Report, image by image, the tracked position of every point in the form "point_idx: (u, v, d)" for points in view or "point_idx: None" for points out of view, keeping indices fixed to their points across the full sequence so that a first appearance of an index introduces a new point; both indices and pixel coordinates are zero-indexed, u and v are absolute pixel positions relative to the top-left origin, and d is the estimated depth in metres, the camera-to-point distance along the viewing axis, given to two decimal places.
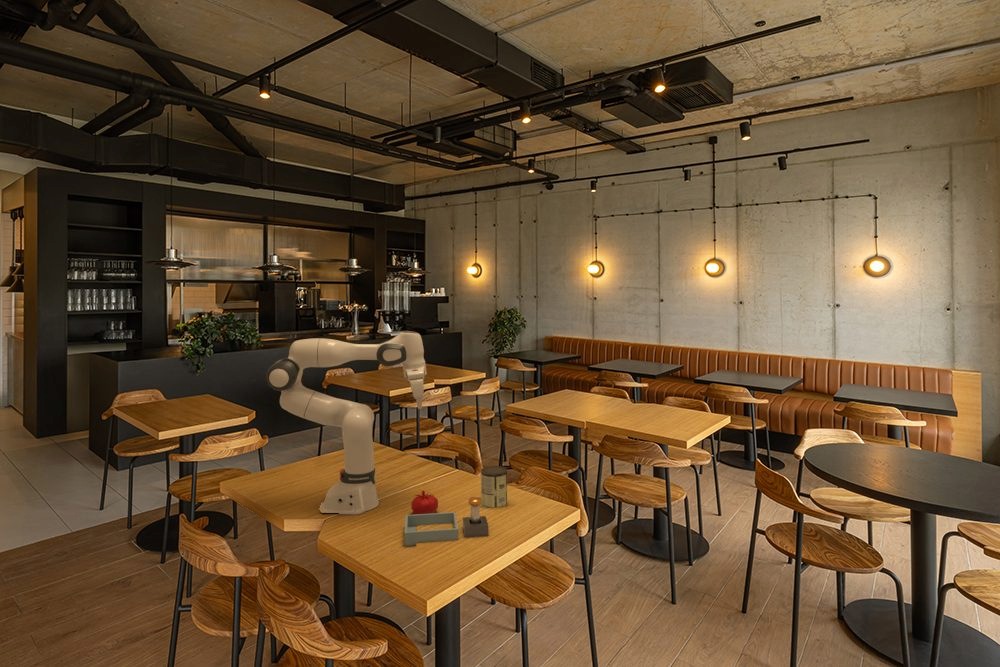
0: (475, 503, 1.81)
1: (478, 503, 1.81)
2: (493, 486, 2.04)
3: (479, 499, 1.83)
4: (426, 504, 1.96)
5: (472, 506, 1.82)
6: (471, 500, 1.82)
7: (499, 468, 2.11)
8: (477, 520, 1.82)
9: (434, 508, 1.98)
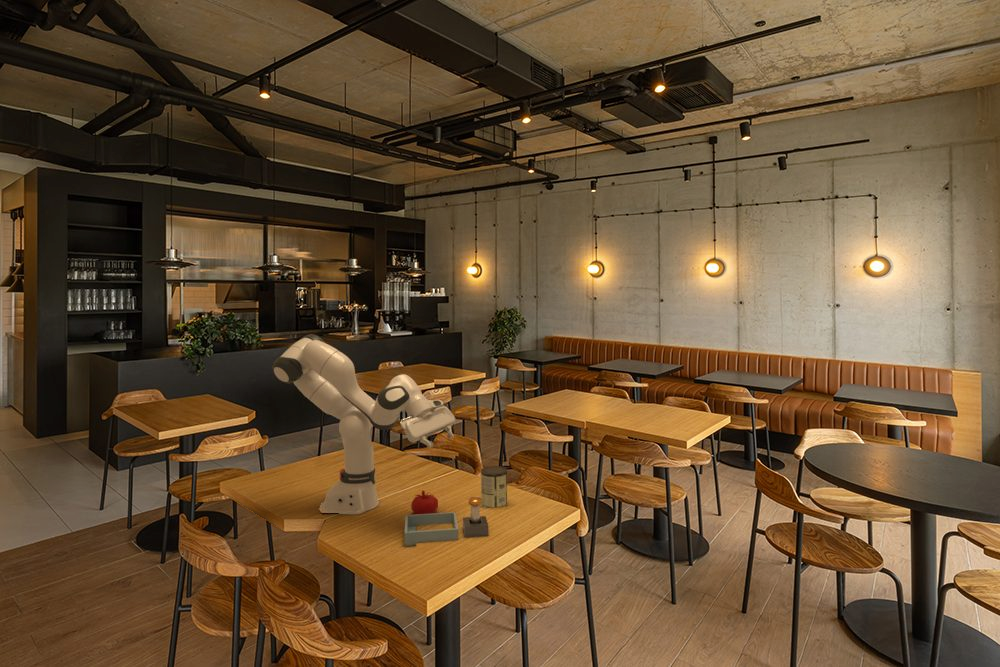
0: (475, 503, 1.81)
1: (478, 503, 1.81)
2: (493, 486, 2.04)
3: (479, 499, 1.83)
4: (426, 504, 1.96)
5: (472, 506, 1.82)
6: (471, 500, 1.82)
7: (499, 468, 2.11)
8: (478, 520, 1.82)
9: (434, 508, 1.98)
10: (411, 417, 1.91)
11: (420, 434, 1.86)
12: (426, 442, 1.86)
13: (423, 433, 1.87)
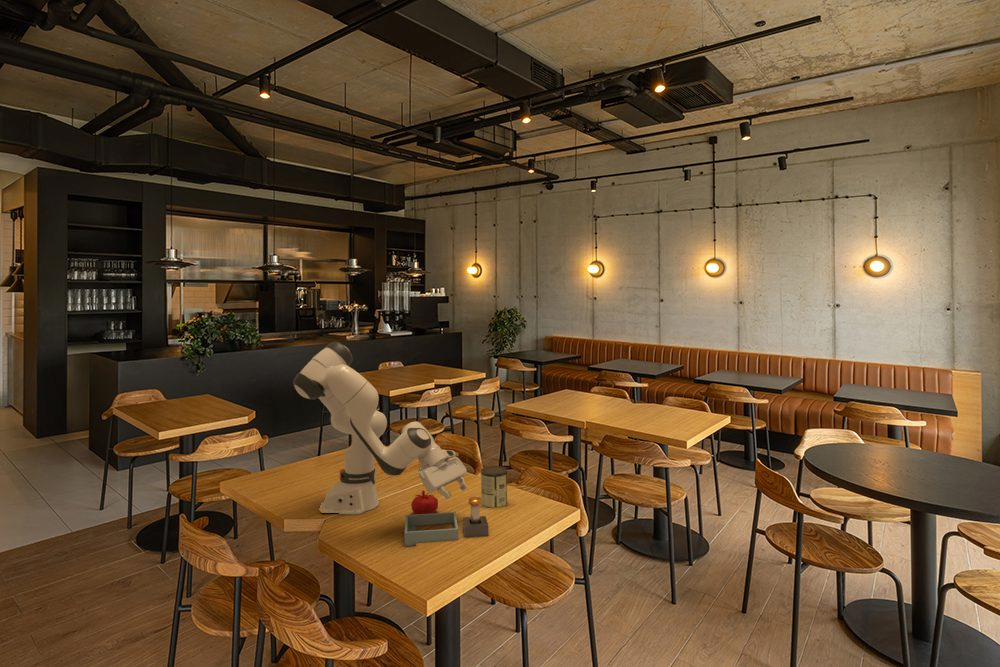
0: (475, 503, 1.81)
1: (478, 503, 1.81)
2: (493, 485, 2.04)
3: (479, 499, 1.83)
4: (426, 504, 1.96)
5: (472, 506, 1.82)
6: (471, 500, 1.82)
7: (499, 468, 2.11)
8: (477, 520, 1.82)
9: (434, 508, 1.98)
10: (427, 466, 1.85)
11: (439, 484, 1.80)
12: (444, 492, 1.81)
13: (441, 483, 1.81)
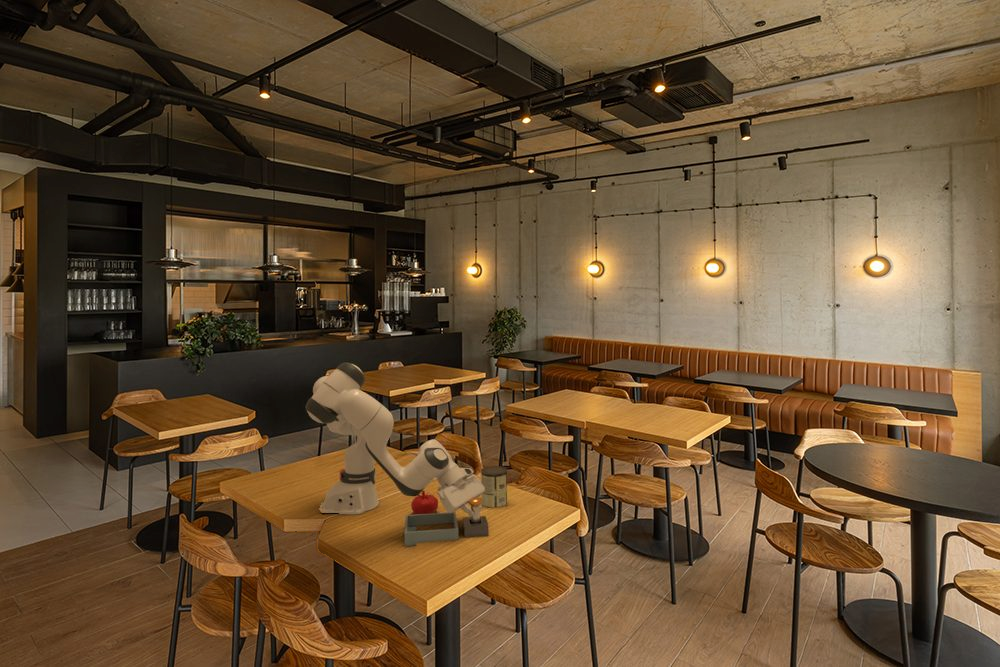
0: (475, 503, 1.81)
1: (478, 503, 1.81)
2: (493, 486, 2.04)
3: (479, 499, 1.83)
4: (426, 504, 1.96)
5: (472, 506, 1.82)
6: (471, 500, 1.82)
7: (499, 468, 2.11)
8: (478, 520, 1.82)
9: (434, 508, 1.98)
10: (446, 486, 1.82)
11: (459, 504, 1.78)
12: (468, 510, 1.80)
13: (461, 503, 1.79)
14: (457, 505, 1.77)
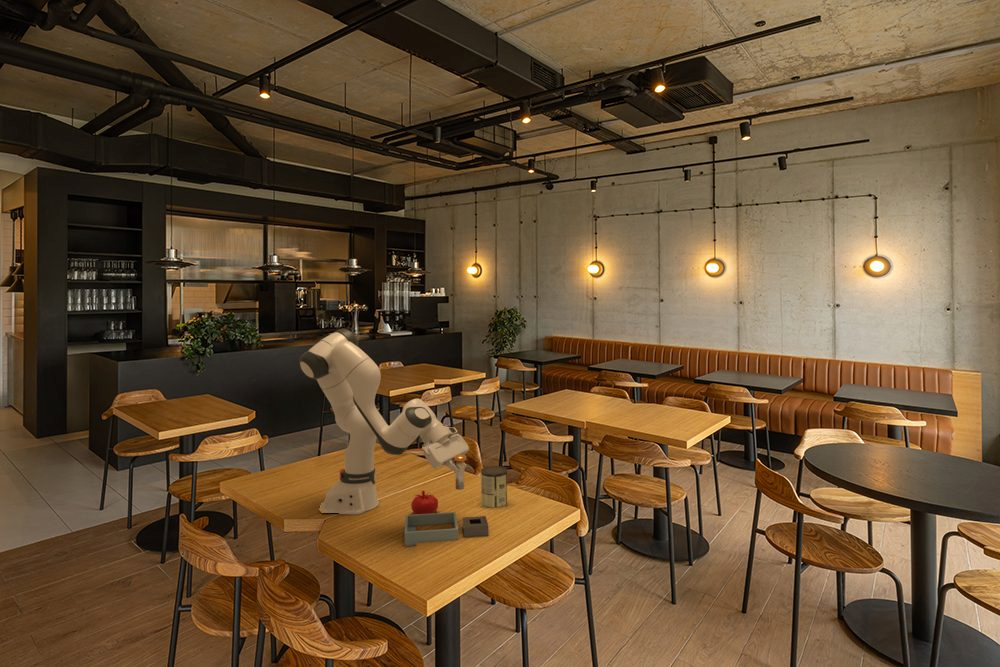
0: (460, 459, 1.81)
1: (463, 459, 1.82)
2: (493, 486, 2.04)
3: (464, 456, 1.84)
4: (426, 504, 1.96)
5: (457, 463, 1.82)
6: (456, 457, 1.83)
7: (499, 468, 2.11)
8: (462, 477, 1.83)
9: (434, 508, 1.98)
10: (431, 443, 1.82)
11: (444, 460, 1.78)
12: (453, 466, 1.81)
13: (446, 459, 1.79)
14: (442, 460, 1.77)
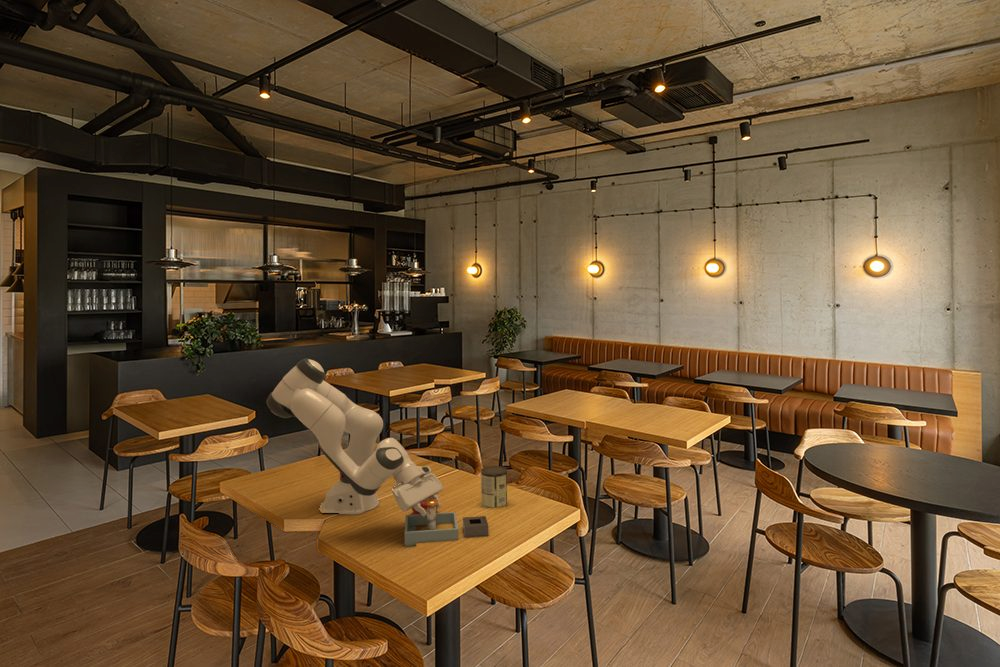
0: (431, 505, 1.80)
1: (434, 505, 1.81)
2: (493, 486, 2.04)
3: (436, 501, 1.83)
4: None
5: (428, 507, 1.82)
6: (427, 501, 1.82)
7: (499, 468, 2.11)
8: (433, 522, 1.82)
9: None
10: (402, 484, 1.82)
11: (413, 502, 1.77)
12: (421, 510, 1.79)
13: (416, 501, 1.78)
14: (411, 503, 1.76)
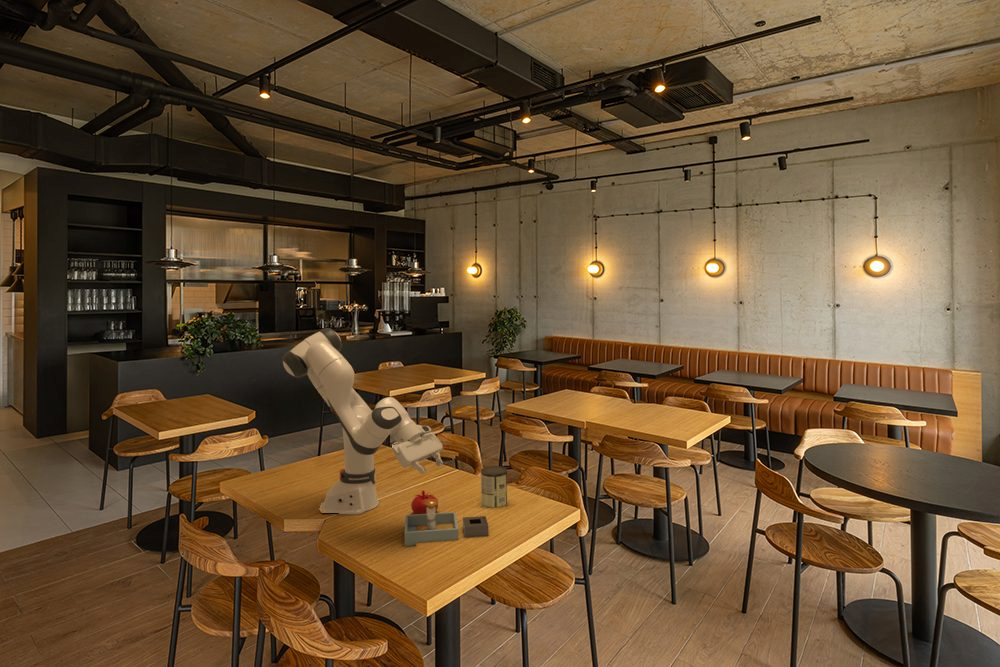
0: (430, 505, 1.80)
1: (433, 505, 1.81)
2: (493, 486, 2.04)
3: (435, 501, 1.82)
4: None
5: (428, 508, 1.81)
6: (427, 502, 1.82)
7: (499, 468, 2.11)
8: (433, 522, 1.82)
9: None
10: (402, 441, 1.81)
11: (413, 458, 1.77)
12: (419, 467, 1.77)
13: (416, 458, 1.78)
14: (411, 459, 1.76)
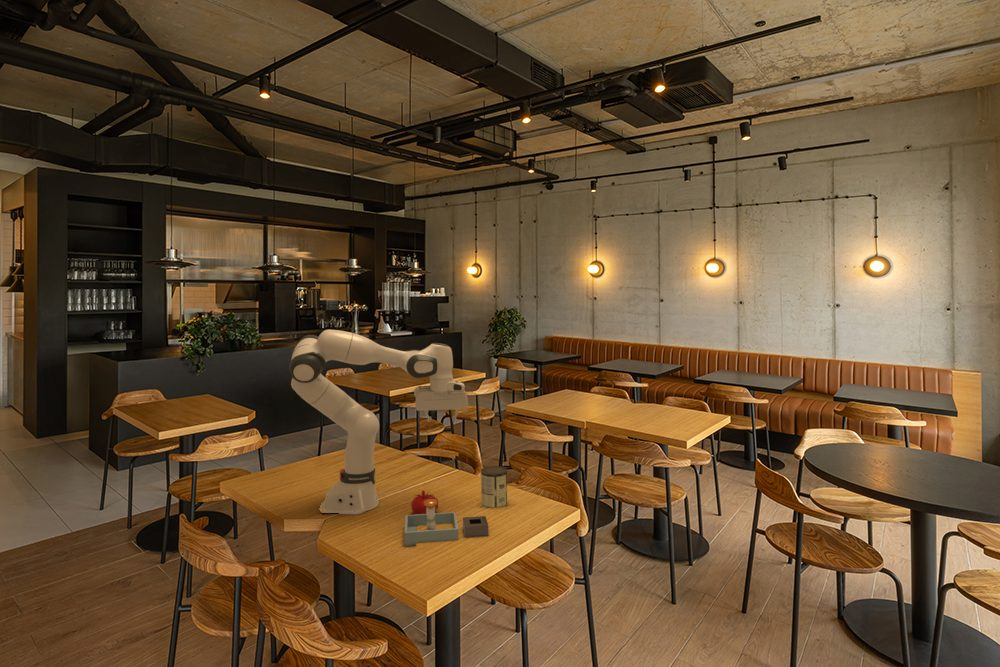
0: (430, 505, 1.80)
1: (433, 505, 1.81)
2: (493, 486, 2.04)
3: (434, 501, 1.82)
4: None
5: (427, 508, 1.81)
6: (426, 502, 1.82)
7: (499, 468, 2.11)
8: (433, 522, 1.82)
9: None
10: (427, 388, 2.03)
11: (423, 409, 2.02)
12: None
13: (427, 409, 2.02)
14: (420, 409, 2.01)
